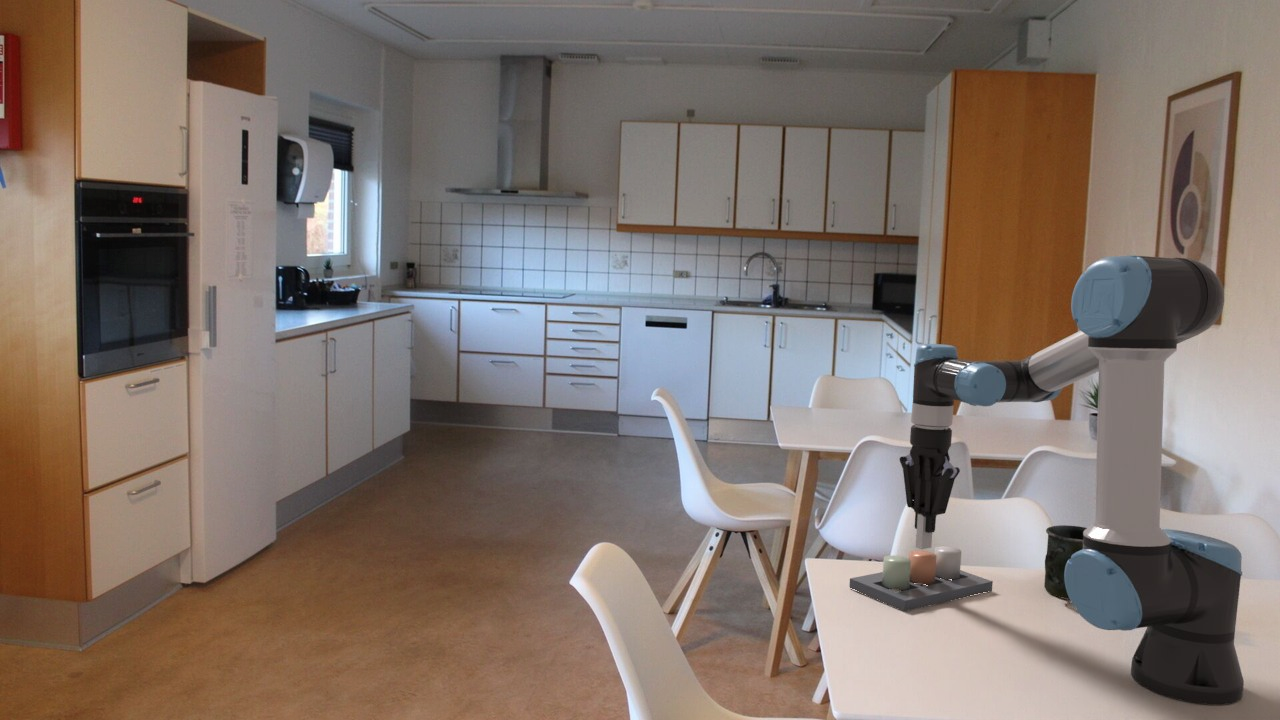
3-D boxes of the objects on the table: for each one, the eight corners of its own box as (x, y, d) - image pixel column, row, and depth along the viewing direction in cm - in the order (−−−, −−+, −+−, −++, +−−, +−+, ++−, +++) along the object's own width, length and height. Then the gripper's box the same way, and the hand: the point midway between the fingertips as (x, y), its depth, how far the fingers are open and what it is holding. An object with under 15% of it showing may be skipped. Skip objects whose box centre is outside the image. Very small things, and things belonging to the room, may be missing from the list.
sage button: (915, 587, 191) (916, 561, 191) (896, 591, 189) (897, 564, 188) (895, 579, 196) (896, 554, 195) (876, 583, 193) (878, 557, 192)
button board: (991, 591, 197) (992, 581, 197) (904, 611, 184) (904, 600, 184) (935, 571, 208) (936, 561, 208) (849, 588, 196) (849, 578, 195)
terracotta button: (940, 581, 195) (942, 556, 195) (922, 585, 193) (924, 559, 192) (920, 574, 199) (922, 549, 199) (902, 578, 197) (904, 552, 196)
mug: (1114, 596, 196) (1119, 535, 195) (1072, 609, 188) (1077, 546, 187) (1062, 580, 205) (1067, 522, 204) (1019, 593, 197) (1024, 532, 195)
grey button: (965, 576, 199) (966, 551, 198) (947, 580, 196) (949, 555, 196) (945, 569, 203) (946, 544, 203) (927, 572, 200) (929, 548, 200)
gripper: (972, 430, 189) (963, 554, 192) (918, 419, 200) (911, 536, 203) (945, 433, 185) (936, 559, 188) (891, 421, 196) (884, 541, 199)
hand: (923, 547), depth 195 cm, fingers closed
